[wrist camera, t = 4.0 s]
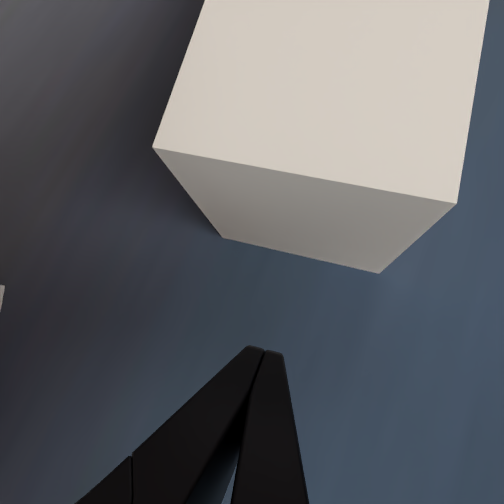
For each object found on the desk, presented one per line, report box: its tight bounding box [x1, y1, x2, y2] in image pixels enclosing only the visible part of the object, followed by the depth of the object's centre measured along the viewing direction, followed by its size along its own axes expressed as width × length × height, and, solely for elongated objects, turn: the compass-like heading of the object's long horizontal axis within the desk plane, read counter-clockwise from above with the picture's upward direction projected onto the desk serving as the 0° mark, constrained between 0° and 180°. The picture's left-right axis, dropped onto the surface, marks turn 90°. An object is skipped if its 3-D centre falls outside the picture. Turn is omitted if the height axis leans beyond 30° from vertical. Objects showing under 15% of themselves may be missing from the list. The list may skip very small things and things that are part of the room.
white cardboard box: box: [152, 0, 489, 274], centre depth 13 cm, size 14×7×8 cm, turn 165°
